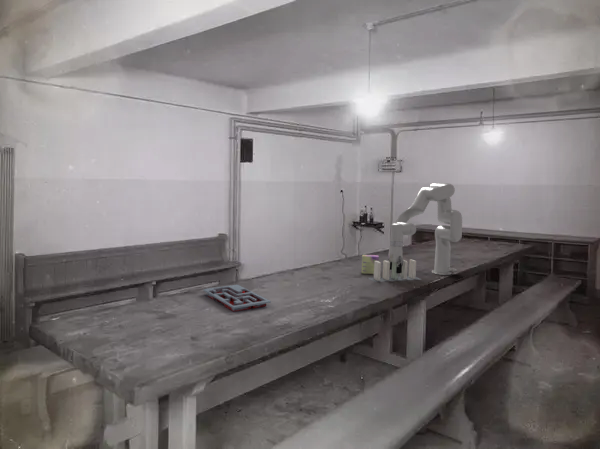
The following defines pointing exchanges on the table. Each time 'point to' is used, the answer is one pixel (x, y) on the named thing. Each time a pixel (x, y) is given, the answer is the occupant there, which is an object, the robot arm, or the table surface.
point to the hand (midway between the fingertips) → (394, 271)
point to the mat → (394, 279)
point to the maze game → (236, 297)
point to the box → (368, 263)
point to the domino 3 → (394, 271)
